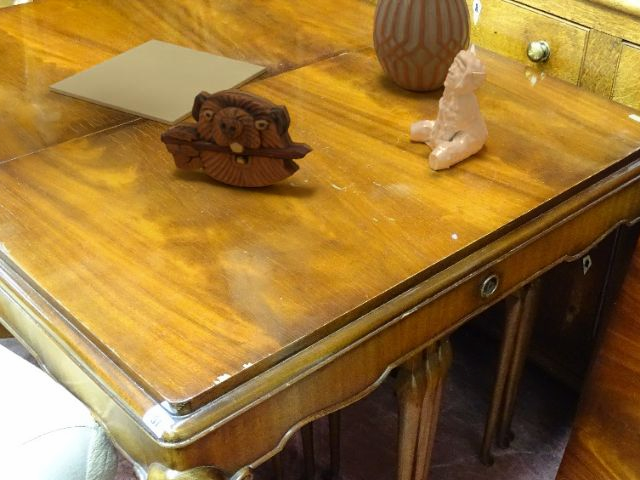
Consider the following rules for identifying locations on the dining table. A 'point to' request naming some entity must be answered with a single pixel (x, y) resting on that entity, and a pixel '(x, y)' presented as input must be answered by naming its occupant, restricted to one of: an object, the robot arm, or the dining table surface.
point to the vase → (420, 40)
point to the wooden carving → (236, 139)
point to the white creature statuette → (455, 116)
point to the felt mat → (157, 80)
